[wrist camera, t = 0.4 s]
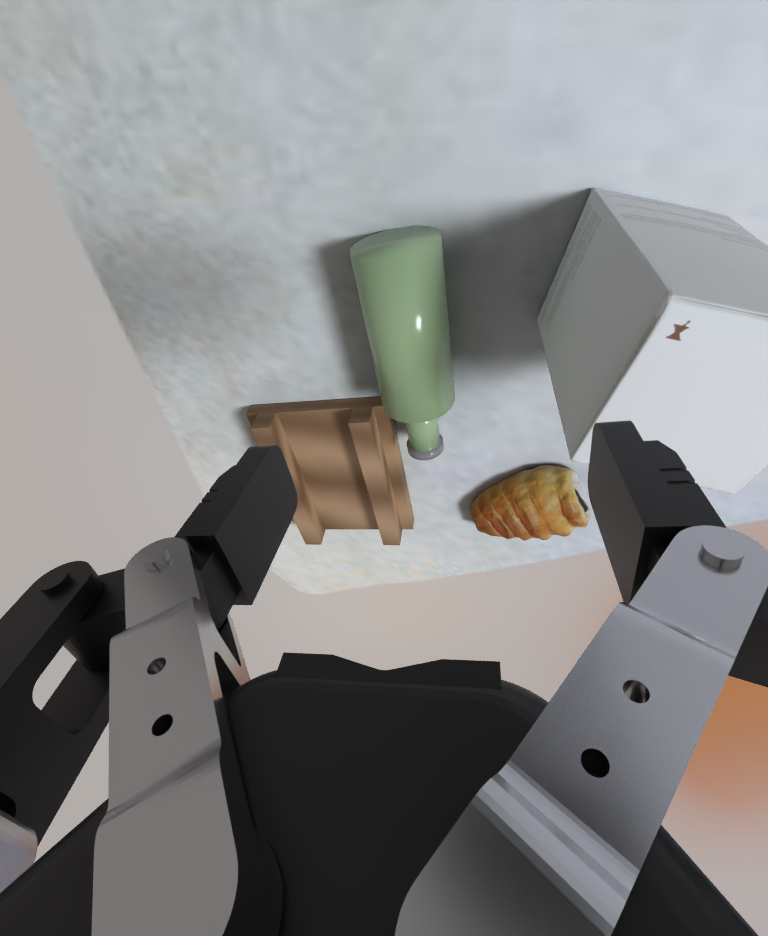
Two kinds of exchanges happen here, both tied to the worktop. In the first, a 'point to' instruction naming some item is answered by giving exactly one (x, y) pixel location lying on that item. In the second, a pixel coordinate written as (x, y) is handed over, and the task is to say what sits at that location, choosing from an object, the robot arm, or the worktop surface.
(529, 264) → the worktop surface
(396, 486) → the cradle
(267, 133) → the worktop surface
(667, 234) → the supplement box
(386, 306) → the bottle
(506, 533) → the pastry
